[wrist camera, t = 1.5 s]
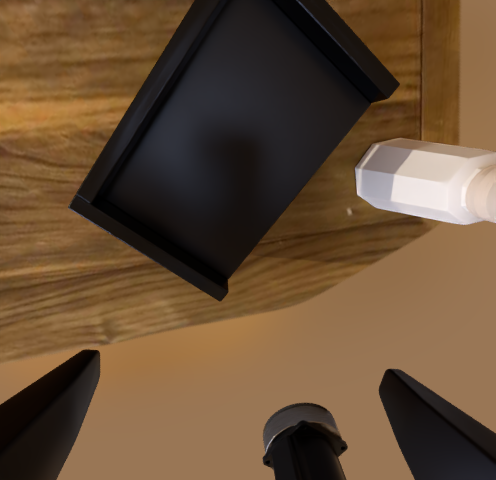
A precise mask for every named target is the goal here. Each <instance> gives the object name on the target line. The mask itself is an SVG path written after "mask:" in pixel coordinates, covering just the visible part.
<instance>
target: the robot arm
mask: <svg viewBox="0 0 496 480" xmlns="http://www.w3.org/2000/svg"><path fill="white" fill-rule="evenodd" d="M99 377H100V352H99V351H98V350H87V349H86V350H82V351H81V352H79V353H78V354H76V355H75V356H73V357H72V358H70V359H69V360H67V361H66V362H64V363H63V364H61V365H59V366H58V367H56V368H55V369H53V370H52V371H50V372H49V373H47V374H46V375H44V376H43V377H41V378H40V379H38V380H37V381H36V382H34V383H32V384H31V385H29V386H28V387H26V388H25V389H23V390H22V391H20V392H19V393H17V394H16V395H14V396H13V397H11V398H10V399H8V400H7V401H5V402H4V403H2V404H1V405H0V480H56V479H57V477H58V475H59V473H60V471H61V469H62V467H63V465H64V463H65V461H66V459H67V457H68V455H69V453H70V451H71V449H72V447H73V445H74V442H75V440H76V438H77V436H78V433H79V431H80V428H81V426H82V423H83V420H84V418H85V415H86V413H87V410H88V407H89V405H90V402H91V399H92V397H93V394H94V391H95V389H96V387H97V384H98V381H99ZM379 395H380V398H381V401H382V403H383V406H384V409H385V411H386V414H387V416H388V419H389V421H390V424H391V427H392V429H393V432H394V435H395V437H396V440H397V442H398V445H399V447H400V449H401V451H402V454H403V456H404V458H405V460H406V462H407V464H408V466H409V468H410V470H411V472H412V475H413V476H414V479H415V480H496V433H494V432H493V431H491V430H490V429H488V428H487V427H485V426H484V425H482V424H481V423H479V422H478V421H476V420H475V419H473V418H472V417H470V416H469V415H467V414H466V413H464V412H463V411H461V410H460V409H458V408H457V407H455V406H454V405H452V404H451V403H449V402H448V401H446V400H445V399H443V398H442V397H440V396H439V395H437V394H436V393H435V392H433V391H432V390H430V389H428V388H427V387H426V386H424V385H423V384H421V383H419V382H418V381H416V380H415V379H414V378H412V377H411V376H409V375H408V374H406V373H405V372H403V371H401V370H399V369H387V370H386V371H385V373H384V376H383V379H382V381H381V384H380V386H379ZM346 450H347V444H346V442H345V441H343V440H341V439H340V438H338V437H336V436H334V435H332V434H330V433H328V432H326V431H324V430H323V429H321V428H319V427H317V426H315V425H313V424H311V423H309V422H307V421H305V420H302V421H300V422H298V423H297V424H296V425H295V426H294V427H293V428H292V429H291V430H290V431H289V432H288V433H287V434H286V435H285V436H284V437H283V438H282V439H281V440H280V441H279V442H278V443H277V444H276V445H275V446H274V447H273V448H272V449H271V450H270V451H269V452H268V453H267V454H265V456H264V457H263V463H264V465H266V466H268V467H271V468H273V469H274V474H275V480H346V477H345V475H344V472H343V469H342V467H341V464H340V461H339V459H338V457H339V456H340V455H341V454H342V453H343V452H344V451H346Z"/></svg>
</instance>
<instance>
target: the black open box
mask: <svg viewBox="0 0 496 480" xmlns="http://www.w3.org/2000/svg"><path fill="white" fill-rule="evenodd" d="M399 85H400V83H399V82H398V81H397V80H396V79H395V78H394V77H393V75H392V74H391V73H390V72H389V71H388V70H387V69H386V68H385V67H384V65H383V64H382V63H381V62H380V61H379V60H378V59H377V58H376V56H375V55H374V54H373V53H372V52H371V51H370V50H369V49H368V48H367V46H366V45H365V44H364V43H363V42H362V41H361V40H360V39H359V38H358V36H357V35H356V34H355V33H354V32H353V31H352V30H351V29H350V27H349V26H348V25H347V24H346V23H345V22H344V21H343V20H342V19H341V17H340V16H339V15H338V14H337V13H336V12H335V11H334V10H333V9H332V7H331V6H330V5H329V4H328V3H327V2H326V1H325V0H195V1H194V2H193V4H192V6H191V7H190V9H189V10H188V12H187V14H186V15H185V17H184V19H183V20H182V22H181V23H180V25H179V27H178V28H177V30H176V32H175V33H174V35H173V36H172V38H171V40H170V41H169V43H168V45H167V46H166V48H165V49H164V51H163V53H162V54H161V56H160V58H159V59H158V61H157V62H156V64H155V66H154V67H153V69H152V71H151V72H150V74H149V76H148V77H147V79H146V80H145V82H144V84H143V85H142V87H141V89H140V90H139V92H138V93H137V95H136V97H135V98H134V100H133V102H132V103H131V105H130V106H129V108H128V110H127V111H126V113H125V115H124V116H123V118H122V119H121V121H120V123H119V124H118V126H117V128H116V129H115V131H114V132H113V134H112V136H111V137H110V139H109V141H108V142H107V144H106V145H105V147H104V149H103V150H102V152H101V154H100V155H99V157H98V158H97V160H96V162H95V163H94V165H93V167H92V168H91V170H90V171H89V173H88V175H87V176H86V178H85V180H84V181H83V183H82V185H81V186H80V188H79V189H78V191H77V193H76V194H77V195H75V196H74V198H73V199H72V201H71V203H70V204H69V206H68V208H69V209H71V210H72V211H74V212H76V213H77V214H79V215H81V216H82V217H84V218H85V219H87V220H89V221H90V222H92V223H93V224H95V225H97V226H98V227H100V228H102V229H103V230H105V231H106V232H108V233H110V234H111V235H113V236H115V237H116V238H118V239H119V240H121V241H123V242H124V243H126V244H128V245H129V246H131V247H132V248H134V249H136V250H137V251H139V252H141V253H142V254H144V255H145V256H147V257H149V258H150V259H152V260H153V261H155V262H157V263H158V264H160V265H162V266H163V267H165V268H166V269H168V270H170V271H171V272H173V273H175V274H176V275H178V276H179V277H181V278H183V279H184V280H186V281H188V282H189V283H191V284H192V285H194V286H196V287H197V288H199V289H200V290H202V291H204V292H205V293H207V294H209V295H210V296H212V297H213V298H215V299H217V300H218V301H222V299H223V298H224V297H225V296H226V295H227V293H228V279H229V278H230V277H231V276H232V274H233V273H234V272H235V271H236V269H237V268H238V267H239V266H240V264H241V263H242V262H243V261H244V260H245V258H246V257H247V256H248V255H249V253H250V252H251V251H252V250H253V249H254V247H255V246H256V245H257V244H258V242H259V241H260V240H261V239H262V237H263V236H264V235H265V234H266V233H267V231H268V230H269V229H270V228H271V226H272V225H273V224H274V223H275V221H276V220H277V219H278V218H279V217H280V215H281V214H282V213H283V212H284V210H285V209H286V208H287V207H288V206H289V204H290V203H291V202H292V201H293V199H294V198H295V197H296V196H297V194H298V193H299V192H300V191H301V190H302V188H303V187H304V186H305V185H306V183H307V182H308V181H309V180H310V179H311V177H312V176H313V175H314V174H315V172H316V171H317V170H318V169H319V167H320V166H321V165H322V164H323V163H324V161H325V160H326V159H327V158H328V156H329V155H330V154H331V153H332V152H333V150H334V149H335V148H336V147H337V145H338V144H339V143H340V142H341V140H342V139H343V138H344V137H345V136H346V134H347V133H348V132H349V131H350V129H351V128H352V127H353V126H354V125H355V123H356V122H357V121H358V120H359V118H360V117H361V116H362V115H363V113H364V112H365V111H366V110H367V109H368V107H369V106H370V105H371V103H374V102H378V101H381V100H385V99H388V98H389V97H390V96H391V95H392V94H393V92H394V91H395V90H396V89H397V88H398V86H399Z"/></svg>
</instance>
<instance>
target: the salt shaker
mask: <svg viewBox="0 0 496 480" xmlns="http://www.w3.org/2000/svg"><path fill="white" fill-rule="evenodd" d="M355 175H356V187H357V195H359V196H360V197H361V198H363V199H364V200H366V201H367V202H368V203H370V204H371V205H373V206H374V207H375V208H379V209H384V210H389V211H394V212H399V213H404V214H409V215H414V216H419V217H424V218H429V219H434V220H439V221H444V222H449V223H455V224H462V225H467V224H471V223H476V222H480V221H484V220H487V221H490V222H494V223H496V152H493V151H489V150H484V149H477V148H469V147H462V146H455V145H448V144H441V143H433V142H426V141H419V140H412V139H404V138H396V139H391V140H387V141H383V142H378V143H374V144H372V145H371V146H370V148H369V149H368V151H367V152H366V153H365V155H364V156H363V157H362V159H361V160H360V162H359V163H358V164H357V166H356V167H355Z"/></svg>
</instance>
